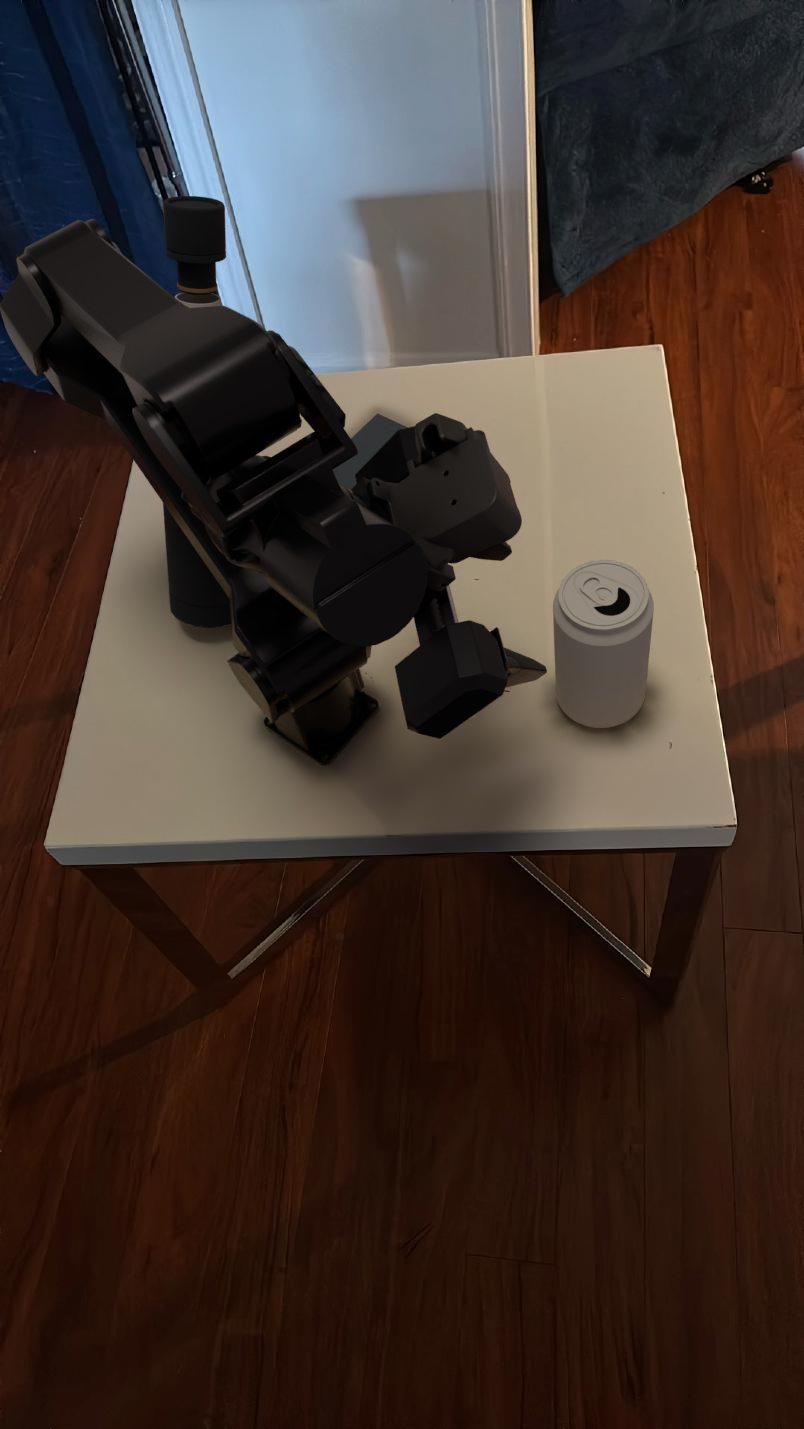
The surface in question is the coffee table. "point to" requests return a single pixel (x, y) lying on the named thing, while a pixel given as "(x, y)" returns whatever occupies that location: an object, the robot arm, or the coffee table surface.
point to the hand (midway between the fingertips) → (523, 612)
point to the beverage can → (602, 642)
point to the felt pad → (366, 447)
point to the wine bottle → (196, 250)
